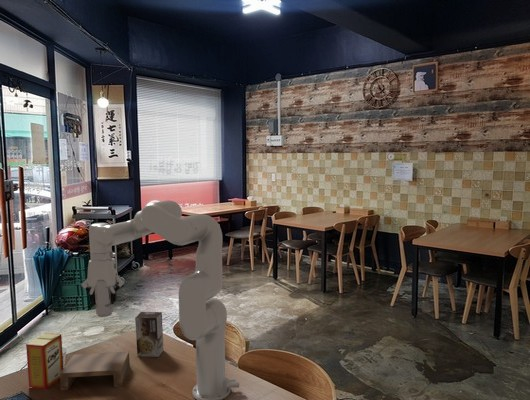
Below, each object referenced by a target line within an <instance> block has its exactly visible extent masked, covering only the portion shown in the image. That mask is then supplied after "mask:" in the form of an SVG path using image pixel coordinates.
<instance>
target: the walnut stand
mask: <svg viewBox="0 0 530 400" xmlns="http://www.w3.org/2000/svg"><path fill="white" fill-rule="evenodd" d="M130 363H131V362H130V351H115V352H113V351H111V352H96V353H95V352H94V353H76V354H73V355H72V356H71V358H69V360H68V361H67V363H66V364H65V366H63V370H62V371H61V373H60V379H59V380H60V391H67V390H68V391H69V389H70V388H71V386H72V385H73V383H74V382H75V380H76V378H80V377H95V376H96V377H99V376H100V377H101V376H113V386H114V388H119V387H123V383H124V381H125V379H126V377H127V374H128V371H129V369H130V368H131V366H130V365H131V364H130Z"/></svg>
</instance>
